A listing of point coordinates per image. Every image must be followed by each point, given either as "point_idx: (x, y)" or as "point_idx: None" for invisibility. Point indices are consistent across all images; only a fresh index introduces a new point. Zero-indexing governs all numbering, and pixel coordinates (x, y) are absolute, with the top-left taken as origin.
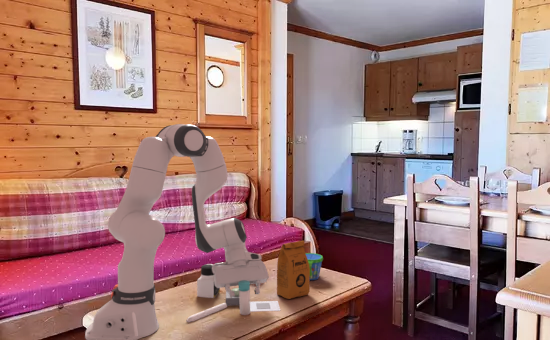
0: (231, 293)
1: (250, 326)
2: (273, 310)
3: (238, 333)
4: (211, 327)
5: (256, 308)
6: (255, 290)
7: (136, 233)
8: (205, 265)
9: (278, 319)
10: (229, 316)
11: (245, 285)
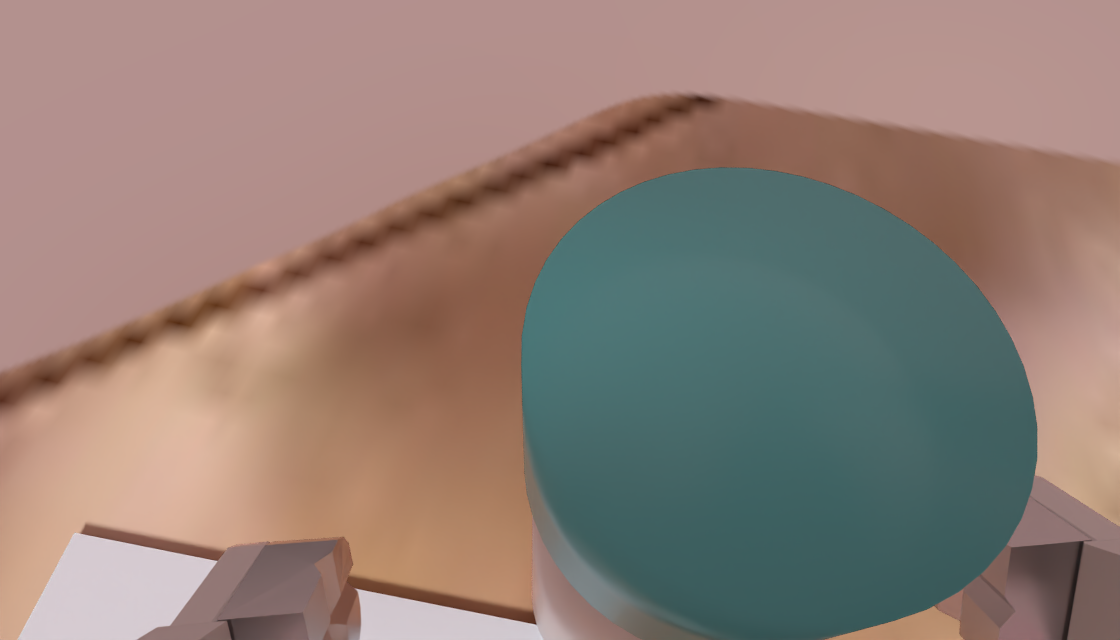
0: (1049, 497)
1: None
2: (168, 560)
3: (753, 130)
4: (1055, 288)
5: None
6: (324, 601)
7: None
8: None
9: (254, 302)
10: None
11: (719, 192)
